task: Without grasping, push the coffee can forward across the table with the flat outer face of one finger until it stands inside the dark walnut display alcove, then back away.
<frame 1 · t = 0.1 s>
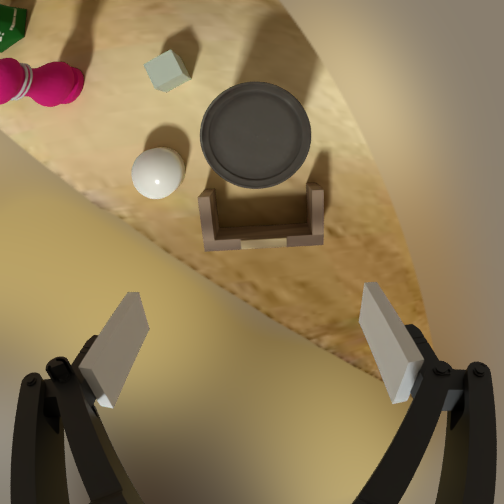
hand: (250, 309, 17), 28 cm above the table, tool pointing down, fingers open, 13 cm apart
sage block: (173, 74, 35), on the table
white glossy round part: (162, 170, 41), on the table
milk carton: (14, 30, 29), on the table
coffee can: (256, 132, 39), on the table
pepper mill: (69, 85, 35), on the table
display alcove: (262, 209, 43), on the table
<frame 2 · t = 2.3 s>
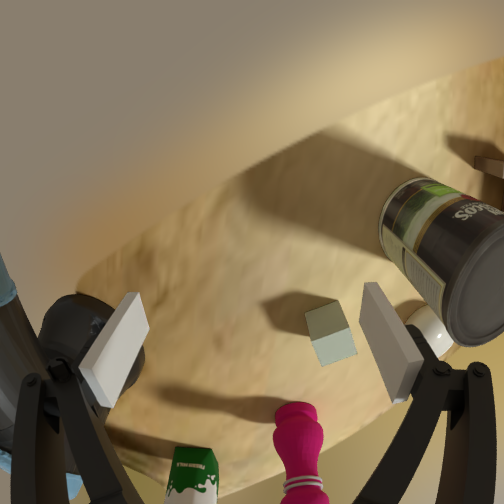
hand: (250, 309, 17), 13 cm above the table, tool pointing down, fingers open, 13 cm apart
sage block: (326, 319, 33), on the table
white glossy round part: (424, 325, 34), on the table
milk carton: (197, 454, 47), on the table
coffee can: (418, 224, 28), on the table
pepper mill: (295, 412, 40), on the table
display alcove: (487, 223, 28), on the table
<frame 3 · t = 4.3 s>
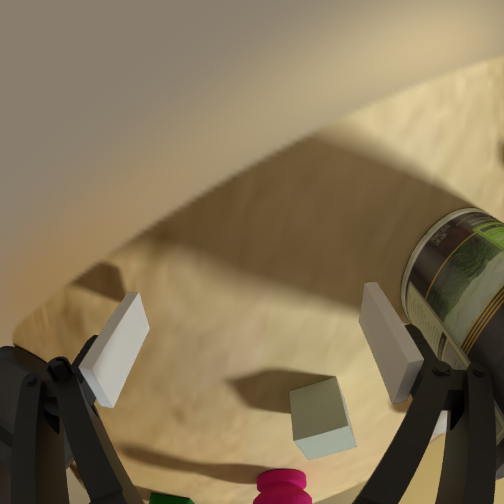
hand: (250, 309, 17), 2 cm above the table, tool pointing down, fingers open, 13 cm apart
sage block: (318, 397, 23), on the table
milk carton: (176, 500, 37), on the table
coffee can: (455, 274, 18), on the table, touching gripper, hand
pepper mill: (281, 476, 30), on the table
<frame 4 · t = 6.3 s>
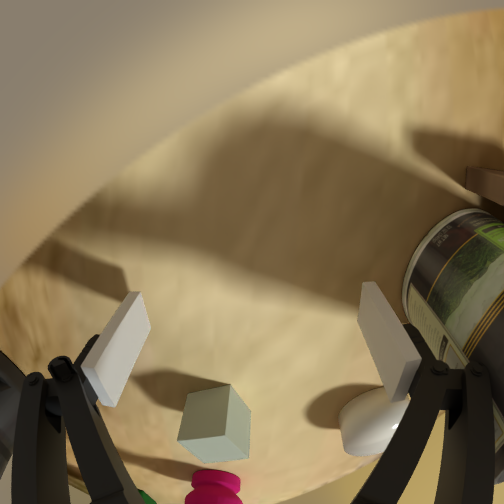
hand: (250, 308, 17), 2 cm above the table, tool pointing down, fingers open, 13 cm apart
sage block: (219, 402, 23), on the table
white glossy round part: (373, 409, 24), on the table
milk carton: (133, 492, 37), on the table
coffee can: (457, 275, 18), on the table, touching display alcove, gripper
pepper mill: (216, 476, 30), on the table
display alcove: (482, 274, 18), on the table
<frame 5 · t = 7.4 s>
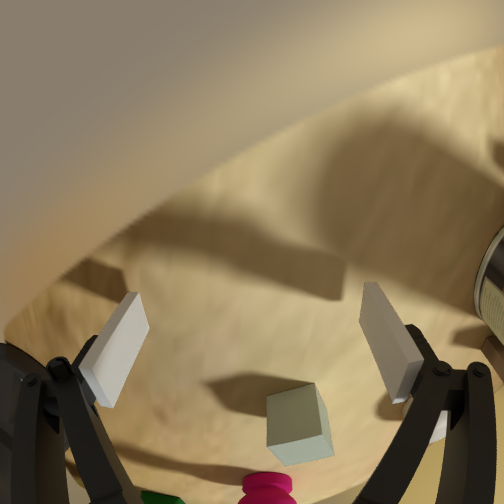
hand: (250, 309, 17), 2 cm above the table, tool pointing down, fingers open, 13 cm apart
sage block: (298, 402, 22), on the table
white glossy round part: (432, 398, 23), on the table
milk carton: (166, 499, 37), on the table
pepper mill: (267, 479, 30), on the table
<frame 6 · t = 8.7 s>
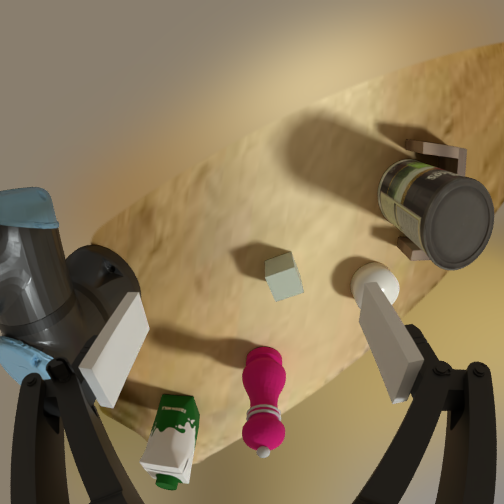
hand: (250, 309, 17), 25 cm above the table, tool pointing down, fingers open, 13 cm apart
sage block: (282, 267, 43), on the table
white glossy round part: (371, 282, 44), on the table
milk carton: (181, 404, 58), on the table
coffee can: (407, 193, 38), on the table
pepper mill: (264, 358, 51), on the table
display alcove: (423, 195, 38), on the table
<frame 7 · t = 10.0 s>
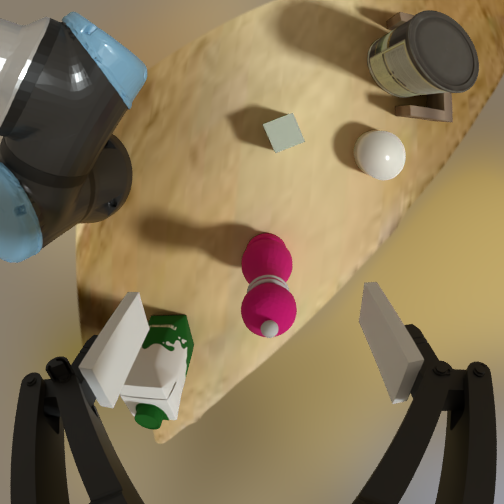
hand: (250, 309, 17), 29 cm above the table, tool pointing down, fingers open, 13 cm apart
sage block: (281, 132, 39), on the table
white glossy round part: (375, 153, 40), on the table
milk carton: (173, 329, 54), on the table
coffee can: (396, 66, 34), on the table
pepper mill: (266, 251, 47), on the table
display alcove: (412, 69, 34), on the table
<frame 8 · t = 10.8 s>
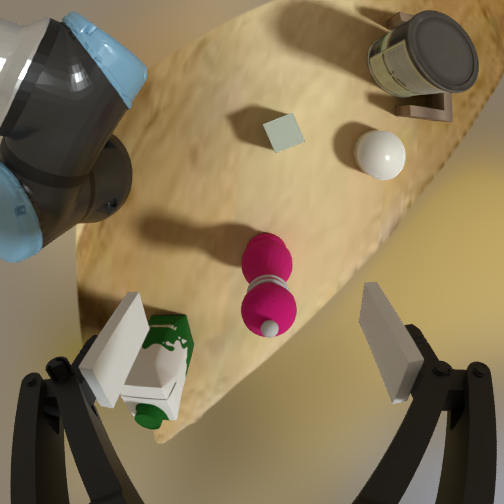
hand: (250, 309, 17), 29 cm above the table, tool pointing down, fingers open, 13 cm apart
sage block: (281, 132, 39), on the table
white glossy round part: (375, 153, 40), on the table
milk carton: (173, 329, 54), on the table
coffee can: (396, 66, 34), on the table
pepper mill: (266, 251, 47), on the table
display alcove: (412, 69, 34), on the table
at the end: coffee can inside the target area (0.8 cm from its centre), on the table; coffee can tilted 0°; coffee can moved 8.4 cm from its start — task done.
